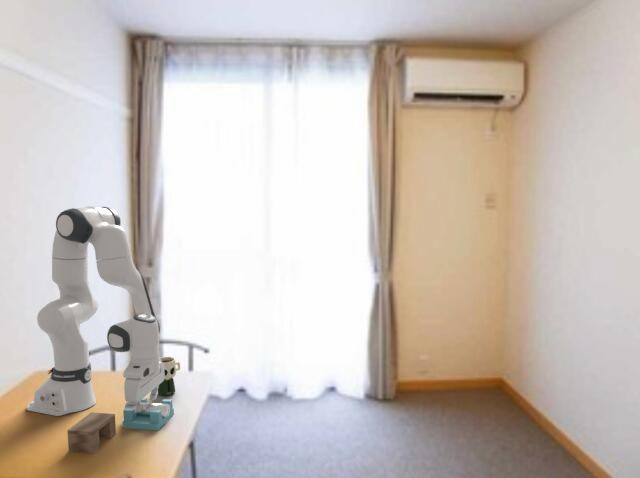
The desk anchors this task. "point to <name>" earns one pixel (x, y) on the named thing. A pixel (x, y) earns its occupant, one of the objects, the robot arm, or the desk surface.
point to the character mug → (168, 376)
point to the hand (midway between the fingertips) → (146, 404)
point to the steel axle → (150, 408)
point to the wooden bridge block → (91, 432)
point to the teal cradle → (146, 418)
